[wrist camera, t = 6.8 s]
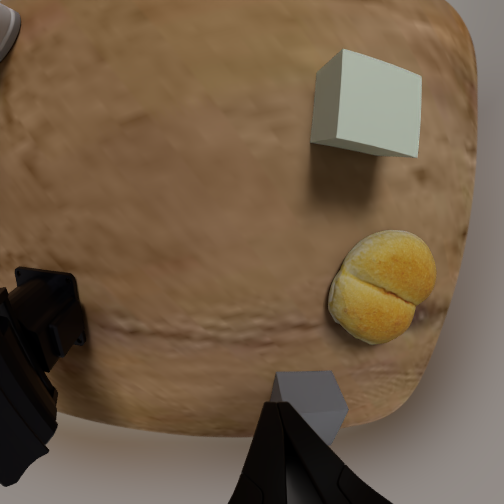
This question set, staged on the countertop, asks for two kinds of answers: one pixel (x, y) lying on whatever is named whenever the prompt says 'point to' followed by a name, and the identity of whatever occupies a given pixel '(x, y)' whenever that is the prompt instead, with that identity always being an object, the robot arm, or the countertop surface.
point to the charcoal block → (313, 399)
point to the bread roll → (382, 285)
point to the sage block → (367, 106)
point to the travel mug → (8, 29)
